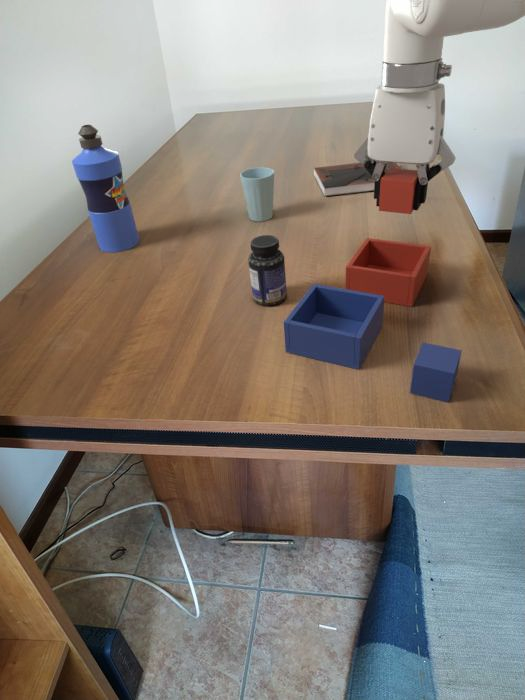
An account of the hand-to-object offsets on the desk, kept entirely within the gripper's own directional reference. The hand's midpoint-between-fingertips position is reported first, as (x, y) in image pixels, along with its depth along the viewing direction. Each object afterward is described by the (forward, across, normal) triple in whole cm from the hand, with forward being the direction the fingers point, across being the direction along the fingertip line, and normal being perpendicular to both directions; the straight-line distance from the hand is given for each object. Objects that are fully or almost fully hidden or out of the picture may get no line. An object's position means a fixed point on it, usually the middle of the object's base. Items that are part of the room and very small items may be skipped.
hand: (398, 204), depth 78 cm
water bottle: (+16, +62, 0) cm, 64 cm away
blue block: (+15, -12, +23) cm, 30 cm away
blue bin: (+15, +4, +17) cm, 24 cm away
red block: (0, 0, 0) cm, 0 cm away
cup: (+16, +37, -22) cm, 46 cm away
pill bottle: (+16, +19, +10) cm, 27 cm away
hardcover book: (+16, +22, -50) cm, 57 cm away
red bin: (+15, +1, -1) cm, 15 cm away
